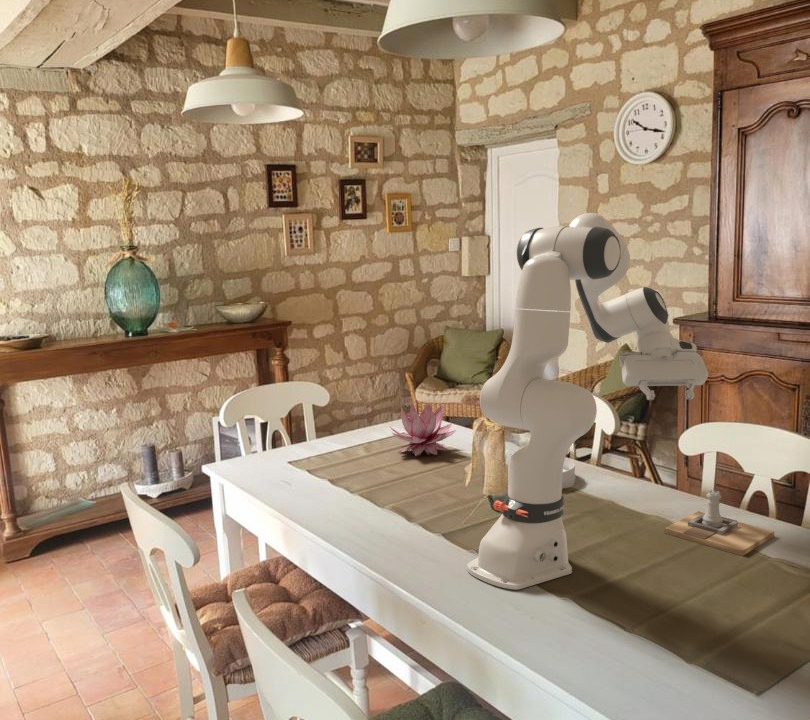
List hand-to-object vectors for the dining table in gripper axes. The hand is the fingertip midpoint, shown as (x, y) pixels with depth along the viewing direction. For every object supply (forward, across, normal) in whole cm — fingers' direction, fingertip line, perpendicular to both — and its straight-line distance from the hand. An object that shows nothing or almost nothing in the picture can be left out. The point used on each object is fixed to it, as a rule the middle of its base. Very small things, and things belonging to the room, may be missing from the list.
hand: (671, 398), depth 178 cm
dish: (-1, -26, +43) cm, 50 cm away
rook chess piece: (+27, +7, +12) cm, 31 cm away
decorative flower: (-22, -58, +64) cm, 89 cm away
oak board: (+30, +8, +12) cm, 33 cm away
